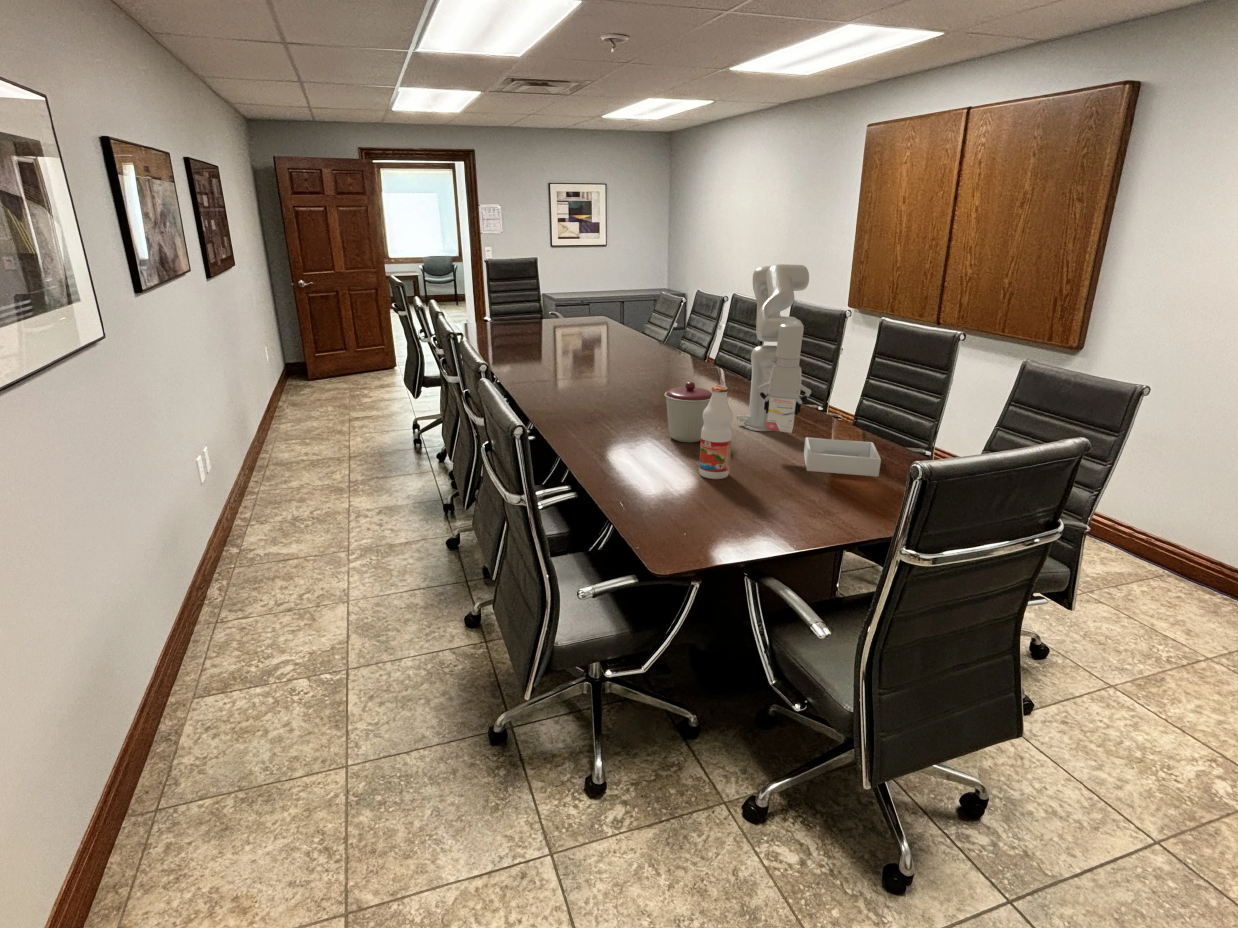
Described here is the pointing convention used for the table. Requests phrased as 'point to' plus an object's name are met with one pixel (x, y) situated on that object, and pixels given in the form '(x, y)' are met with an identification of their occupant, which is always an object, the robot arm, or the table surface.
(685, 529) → the table surface
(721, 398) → the fruit juice
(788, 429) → the ink cartridge box
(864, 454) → the tray
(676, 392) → the canister
